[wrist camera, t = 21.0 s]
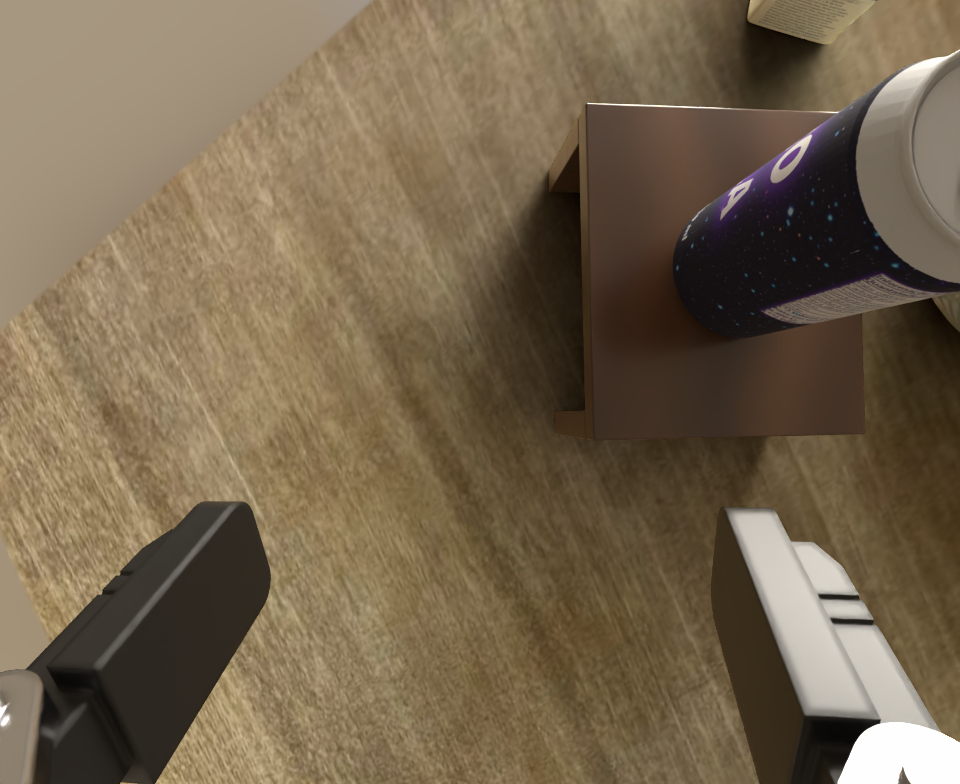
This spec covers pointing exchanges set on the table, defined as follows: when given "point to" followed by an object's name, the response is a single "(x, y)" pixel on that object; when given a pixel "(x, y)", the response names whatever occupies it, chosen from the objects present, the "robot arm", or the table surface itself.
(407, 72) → the table surface
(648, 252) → the shelf
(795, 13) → the box
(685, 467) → the table surface
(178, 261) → the table surface
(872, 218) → the beverage can
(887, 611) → the table surface
